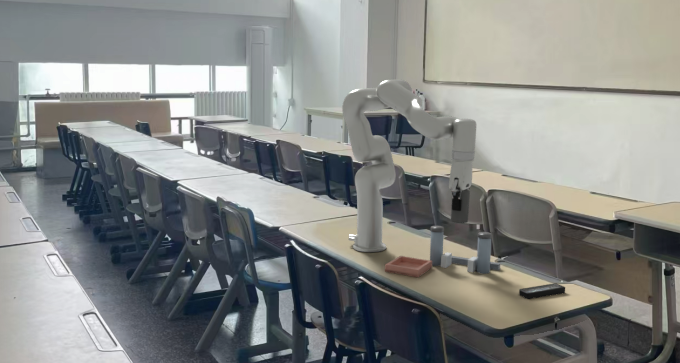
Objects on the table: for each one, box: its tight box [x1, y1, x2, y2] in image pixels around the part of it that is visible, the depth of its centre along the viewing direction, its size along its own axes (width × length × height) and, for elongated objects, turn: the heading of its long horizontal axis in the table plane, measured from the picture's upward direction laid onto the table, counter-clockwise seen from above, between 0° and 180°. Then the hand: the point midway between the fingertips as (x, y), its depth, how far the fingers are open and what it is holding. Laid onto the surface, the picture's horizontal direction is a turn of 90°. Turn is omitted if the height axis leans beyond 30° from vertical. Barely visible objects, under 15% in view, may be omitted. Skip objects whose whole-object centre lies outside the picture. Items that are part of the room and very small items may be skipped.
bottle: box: [450, 184, 471, 224], centre depth 231 cm, size 6×6×15 cm
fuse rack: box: [429, 225, 501, 274], centre depth 235 cm, size 25×8×13 cm, turn 60°
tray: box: [384, 255, 433, 278], centre depth 232 cm, size 12×12×2 cm
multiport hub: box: [518, 282, 566, 300], centre depth 209 cm, size 4×14×2 cm, turn 114°
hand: (459, 208), depth 231 cm, fingers closed on bottle, 5 cm apart
